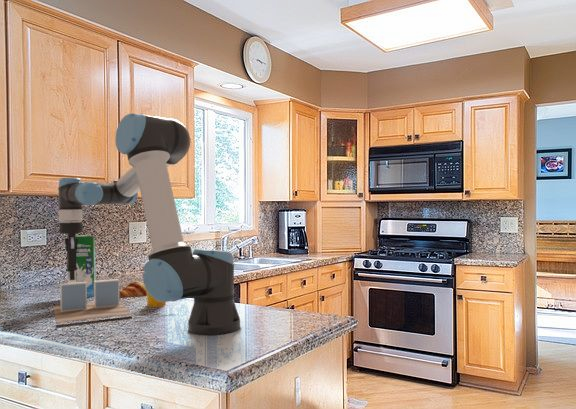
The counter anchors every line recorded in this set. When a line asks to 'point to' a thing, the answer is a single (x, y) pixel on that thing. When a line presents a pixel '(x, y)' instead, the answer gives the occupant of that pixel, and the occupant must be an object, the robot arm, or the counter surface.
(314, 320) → the counter surface
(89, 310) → the board
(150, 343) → the counter surface
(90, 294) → the milk carton
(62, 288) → the tile
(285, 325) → the counter surface
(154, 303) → the beer can
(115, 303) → the tile
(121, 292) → the croissant
